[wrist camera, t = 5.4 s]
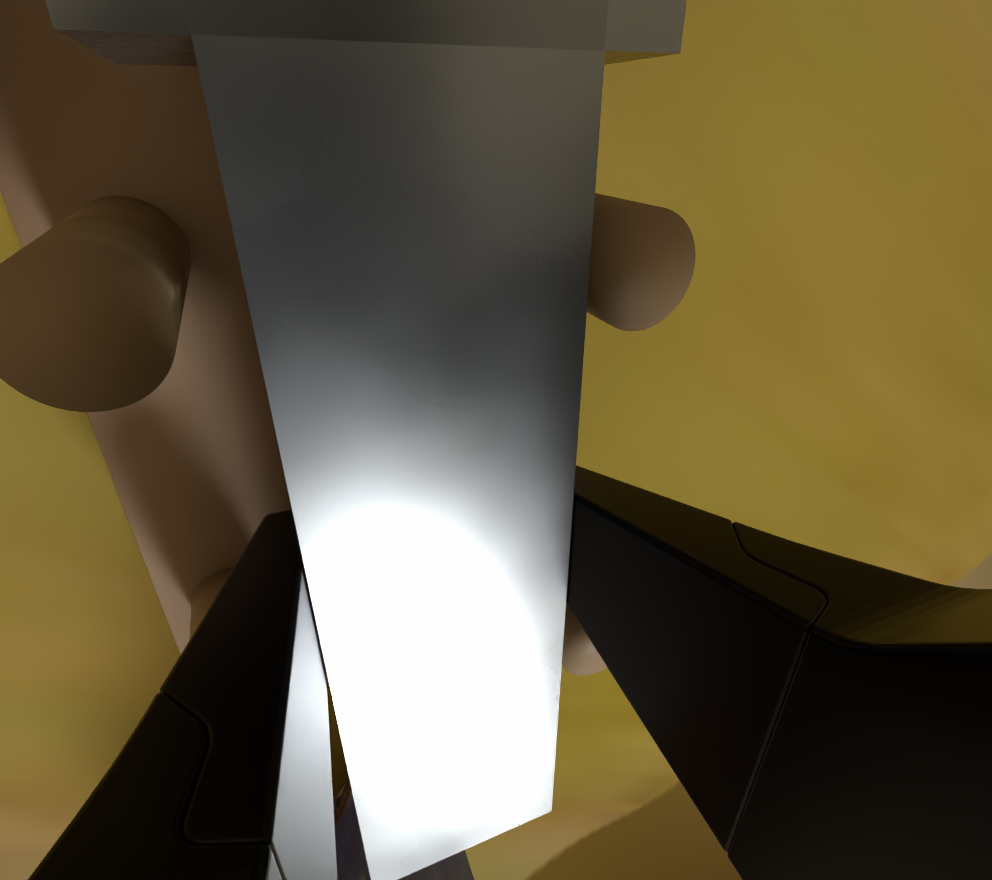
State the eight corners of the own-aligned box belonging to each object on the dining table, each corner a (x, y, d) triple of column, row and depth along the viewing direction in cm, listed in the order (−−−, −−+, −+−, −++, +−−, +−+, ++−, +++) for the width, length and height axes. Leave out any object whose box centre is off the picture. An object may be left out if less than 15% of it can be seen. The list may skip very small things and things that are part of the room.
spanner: (552, -260, 7) (745, -485, 4) (525, 678, 14) (589, 794, 12) (-5, -392, 5) (-231, -901, 2) (303, 757, 12) (323, 913, 10)
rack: (565, 4, 10) (783, -64, 6) (538, 589, 17) (635, 734, 13) (-61, -37, 7) (-394, -214, 3) (208, 690, 14) (204, 917, 10)
